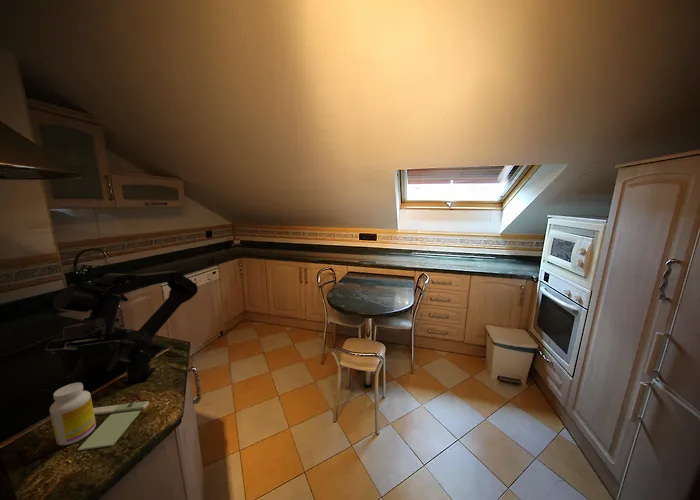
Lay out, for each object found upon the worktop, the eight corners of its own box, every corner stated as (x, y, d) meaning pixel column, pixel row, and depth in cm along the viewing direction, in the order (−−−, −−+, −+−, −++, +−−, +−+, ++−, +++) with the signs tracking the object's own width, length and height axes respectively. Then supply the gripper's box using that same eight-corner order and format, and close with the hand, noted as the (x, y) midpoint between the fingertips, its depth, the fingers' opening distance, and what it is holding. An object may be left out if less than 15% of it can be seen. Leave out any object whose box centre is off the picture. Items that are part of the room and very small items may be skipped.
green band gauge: (84, 410, 67) (83, 407, 67) (149, 403, 70) (148, 399, 70) (33, 457, 54) (32, 452, 54) (115, 445, 57) (114, 441, 57)
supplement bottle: (103, 422, 64) (96, 379, 62) (76, 446, 57) (67, 399, 55) (78, 423, 63) (69, 379, 61) (47, 447, 57) (37, 399, 55)
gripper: (35, 314, 60) (9, 383, 54) (120, 304, 64) (105, 368, 58) (74, 321, 70) (56, 380, 64) (146, 312, 74) (136, 367, 68)
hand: (88, 374), depth 63 cm, fingers open, 9 cm apart
